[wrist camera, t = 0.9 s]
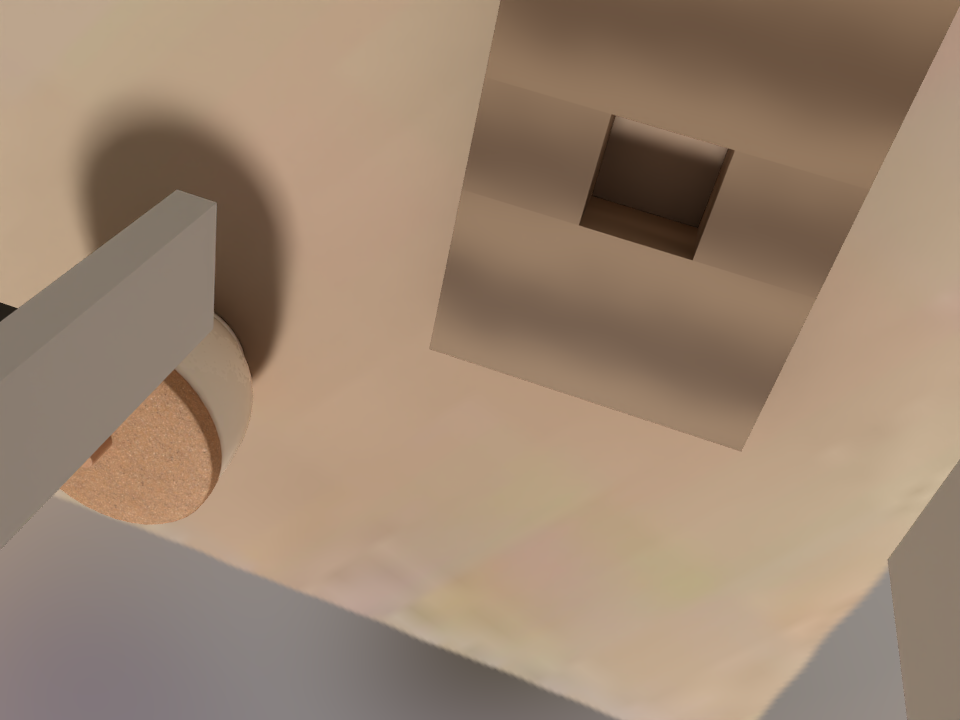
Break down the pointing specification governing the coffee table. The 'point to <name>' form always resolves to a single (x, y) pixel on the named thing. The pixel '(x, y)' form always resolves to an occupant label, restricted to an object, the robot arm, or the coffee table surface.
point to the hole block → (653, 239)
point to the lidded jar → (173, 438)
